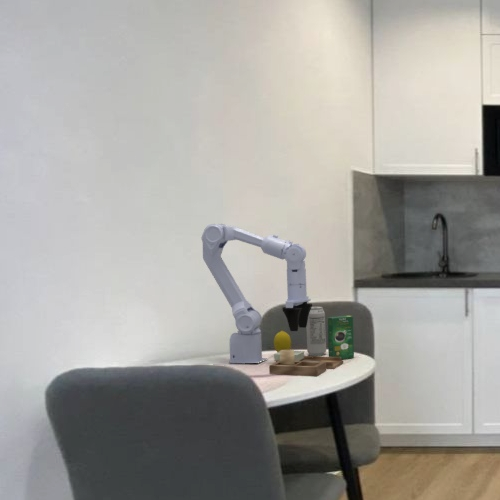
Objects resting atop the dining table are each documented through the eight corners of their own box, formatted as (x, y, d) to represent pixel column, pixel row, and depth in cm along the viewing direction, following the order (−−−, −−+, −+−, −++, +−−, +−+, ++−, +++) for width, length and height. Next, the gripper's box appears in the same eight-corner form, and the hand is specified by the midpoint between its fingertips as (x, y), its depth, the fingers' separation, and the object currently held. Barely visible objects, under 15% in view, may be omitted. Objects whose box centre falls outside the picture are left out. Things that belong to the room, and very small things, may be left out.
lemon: (290, 357, 227) (289, 331, 227) (273, 357, 228) (272, 332, 228) (292, 354, 233) (291, 329, 232) (275, 354, 234) (274, 329, 233)
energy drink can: (324, 352, 233) (323, 306, 233) (327, 355, 227) (325, 308, 227) (306, 353, 233) (304, 306, 232) (308, 356, 227) (306, 308, 226)
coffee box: (349, 356, 224) (348, 314, 223) (355, 358, 221) (353, 315, 221) (328, 360, 220) (326, 317, 219) (333, 361, 217) (331, 317, 217)
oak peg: (278, 373, 203) (278, 351, 203) (283, 370, 207) (282, 349, 206) (292, 373, 201) (291, 352, 201) (296, 370, 205) (295, 349, 205)
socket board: (269, 374, 202) (269, 365, 202) (280, 368, 209) (279, 360, 209) (317, 376, 196) (316, 367, 196) (326, 370, 204) (325, 362, 204)
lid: (273, 361, 214) (273, 351, 214) (281, 357, 220) (281, 347, 220) (297, 362, 211) (296, 352, 211) (304, 358, 217) (304, 348, 217)
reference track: (273, 366, 213) (273, 360, 213) (285, 360, 221) (284, 355, 221) (334, 369, 205) (333, 362, 205) (343, 363, 213) (343, 357, 213)
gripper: (300, 286, 210) (302, 332, 210) (317, 282, 223) (318, 326, 223) (278, 286, 213) (280, 332, 213) (295, 282, 226) (297, 325, 226)
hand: (298, 329), depth 218 cm, fingers open, 7 cm apart
